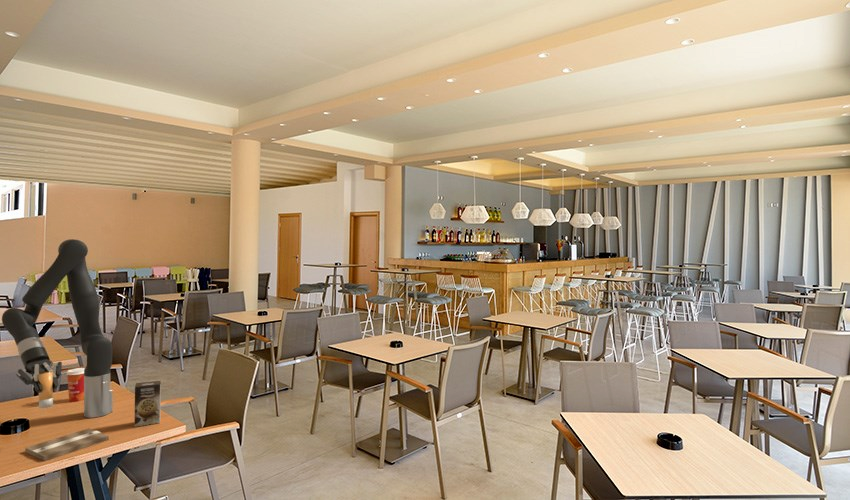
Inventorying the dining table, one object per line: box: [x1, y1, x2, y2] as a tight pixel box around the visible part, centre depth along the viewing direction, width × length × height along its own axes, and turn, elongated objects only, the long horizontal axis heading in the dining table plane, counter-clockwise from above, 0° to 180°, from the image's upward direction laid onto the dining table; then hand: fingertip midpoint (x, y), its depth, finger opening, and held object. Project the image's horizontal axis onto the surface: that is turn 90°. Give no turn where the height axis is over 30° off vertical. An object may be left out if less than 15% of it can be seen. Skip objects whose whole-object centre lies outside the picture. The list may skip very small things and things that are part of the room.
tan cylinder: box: [38, 372, 54, 409], centre depth 173 cm, size 4×4×12 cm
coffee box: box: [133, 380, 162, 428], centre depth 192 cm, size 9×6×16 cm
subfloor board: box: [24, 427, 109, 462], centre depth 170 cm, size 20×14×2 cm
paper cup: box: [66, 367, 86, 403], centre depth 220 cm, size 8×8×14 cm
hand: (48, 389), depth 172 cm, fingers closed on tan cylinder, 4 cm apart
